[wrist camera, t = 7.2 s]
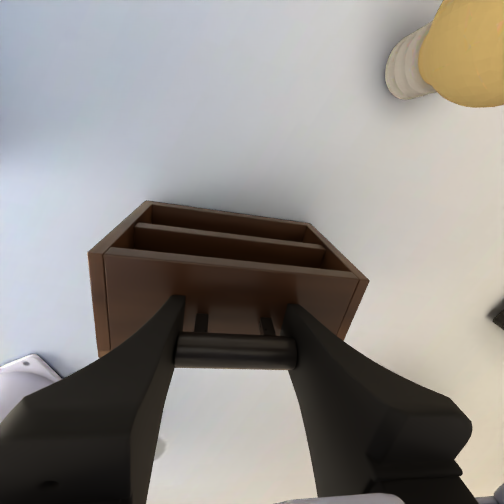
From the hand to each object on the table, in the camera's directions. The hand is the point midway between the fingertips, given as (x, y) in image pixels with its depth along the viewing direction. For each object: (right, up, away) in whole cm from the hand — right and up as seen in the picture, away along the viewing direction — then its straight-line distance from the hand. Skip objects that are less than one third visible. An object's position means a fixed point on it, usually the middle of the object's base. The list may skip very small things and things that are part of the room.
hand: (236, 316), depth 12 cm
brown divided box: (-1, -2, +4) cm, 5 cm away
